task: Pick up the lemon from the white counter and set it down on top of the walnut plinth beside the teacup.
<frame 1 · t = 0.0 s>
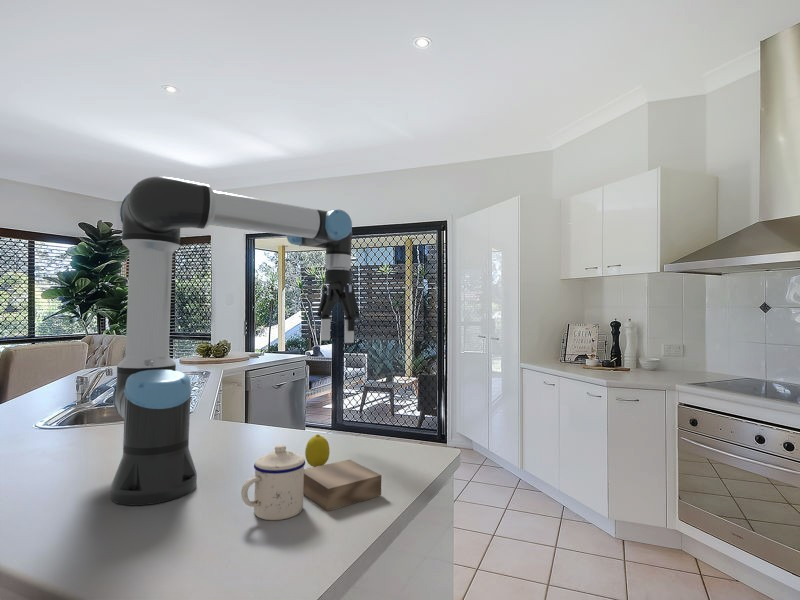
hand: (336, 341, 132), 28 cm above the counter, fingers open, 13 cm apart
walnut plinth: (339, 492, 90), on the counter
lemon: (317, 470, 103), on the counter
teacup with lid: (271, 514, 80), on the counter
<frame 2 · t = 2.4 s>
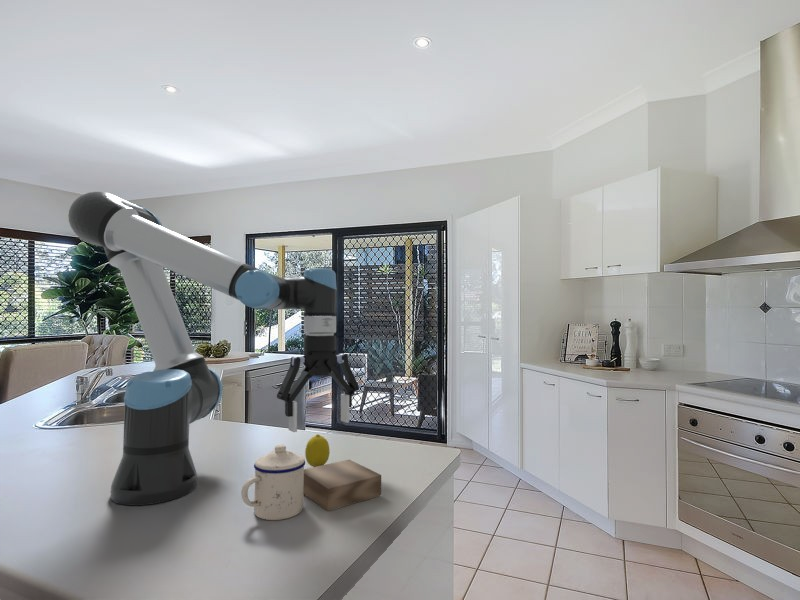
hand: (319, 426, 104), 10 cm above the counter, fingers open, 13 cm apart
nothing on the counter moved.
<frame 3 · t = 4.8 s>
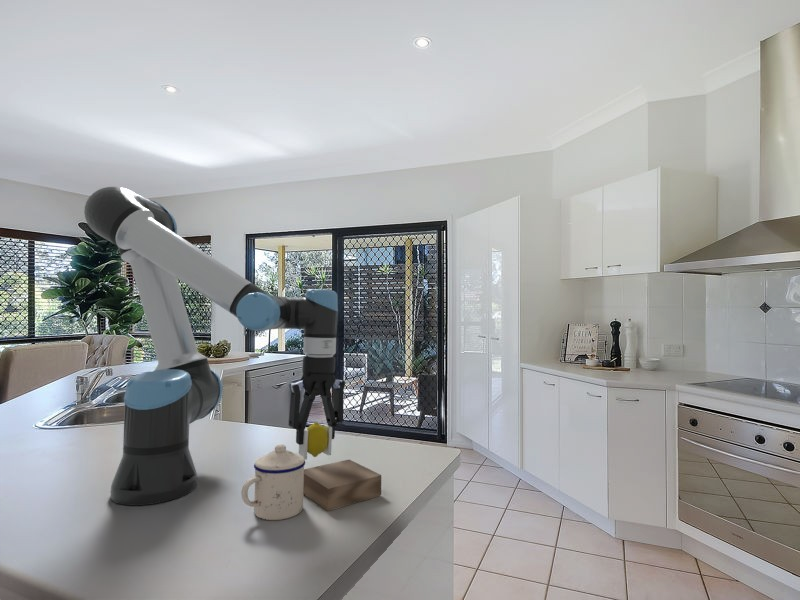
hand: (314, 455, 103), 3 cm above the counter, fingers closed on lemon, 5 cm apart
lemon: (314, 457, 103), point 3 cm above the counter, touching gripper
everything else where it was.
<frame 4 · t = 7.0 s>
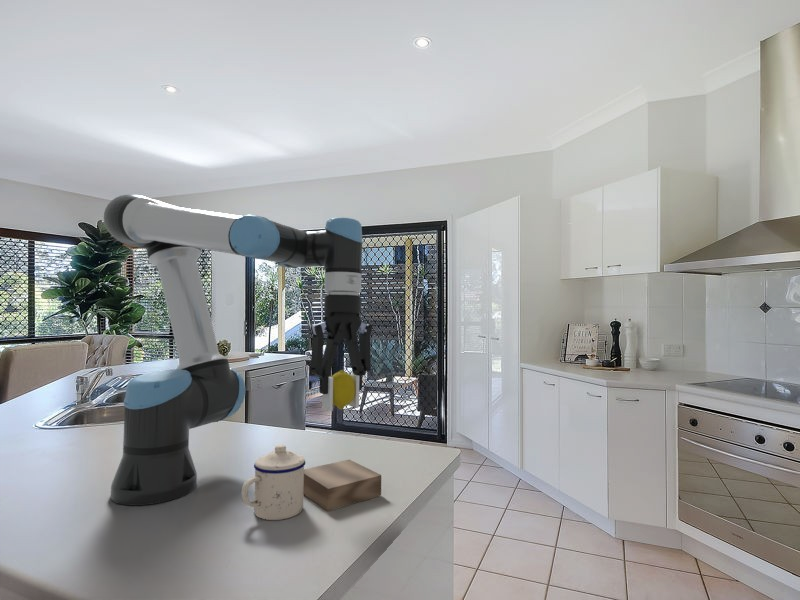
hand: (340, 408, 91), 17 cm above the counter, fingers closed on lemon, 5 cm apart
lemon: (340, 410, 91), point 16 cm above the counter, touching gripper
everything else where it was.
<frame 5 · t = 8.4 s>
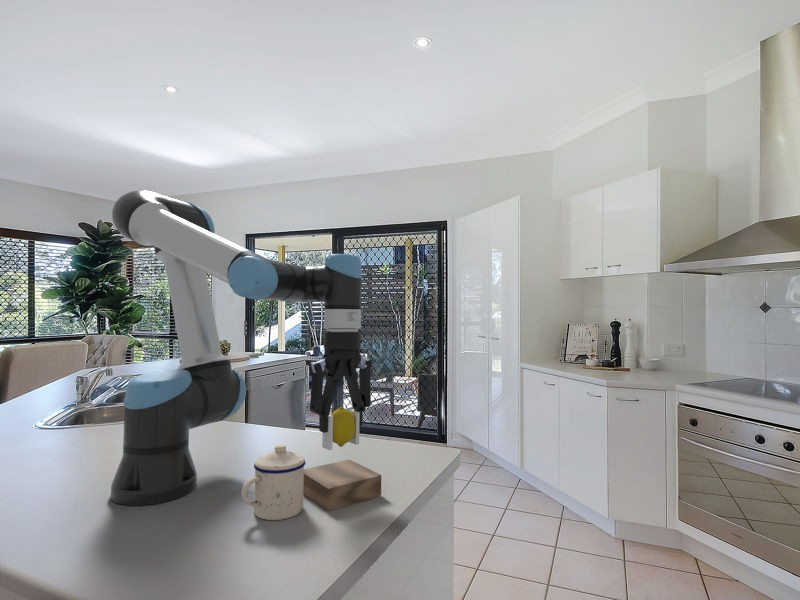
hand: (340, 445, 90), 9 cm above the counter, fingers closed on lemon, 5 cm apart
lemon: (341, 447, 90), point 9 cm above the counter, touching gripper
everything else where it was.
when the fingers open (5 cm above the counter, at t = 9.6 s): lemon stays where it is, resting on walnut plinth.
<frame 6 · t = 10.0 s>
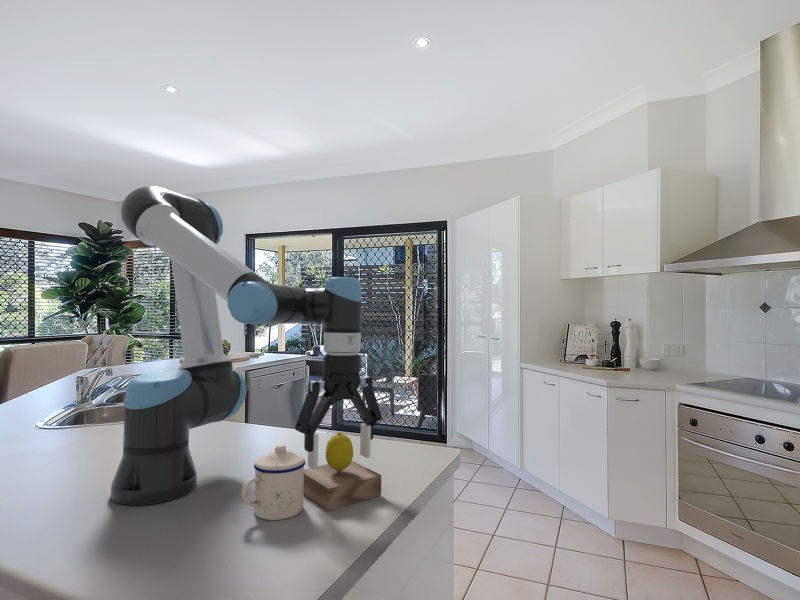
hand: (340, 461, 90), 6 cm above the counter, fingers open, 11 cm apart
lemon: (339, 473, 90), point 4 cm above the counter, touching walnut plinth
everything else where it was.
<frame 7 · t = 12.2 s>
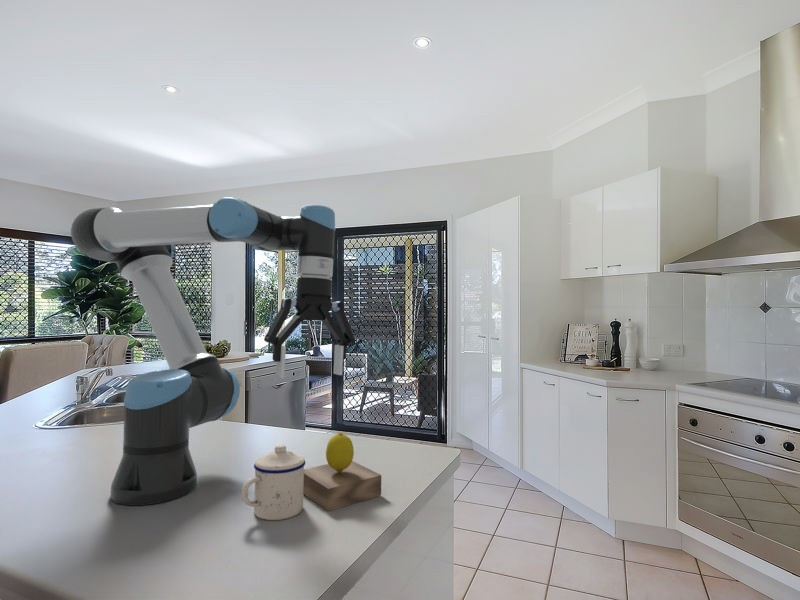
hand: (310, 375, 96), 23 cm above the counter, fingers open, 13 cm apart
nothing on the counter moved.
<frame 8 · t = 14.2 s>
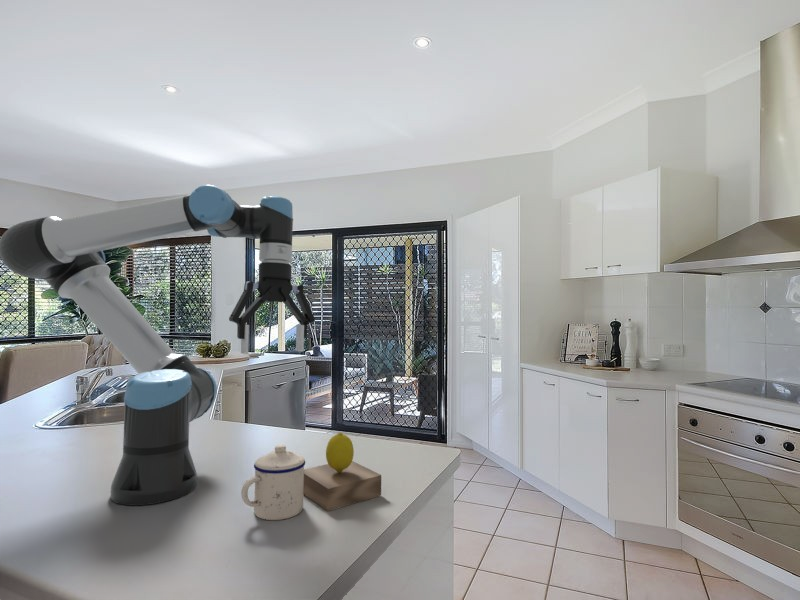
hand: (273, 352, 105), 27 cm above the counter, fingers open, 13 cm apart
nothing on the counter moved.
at the end: lemon inside the target area on the walnut plinth (0.1 cm from its centre), point 3.8 cm above the walnut plinth's base; lemon touching walnut plinth; the gripper is holding nothing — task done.
